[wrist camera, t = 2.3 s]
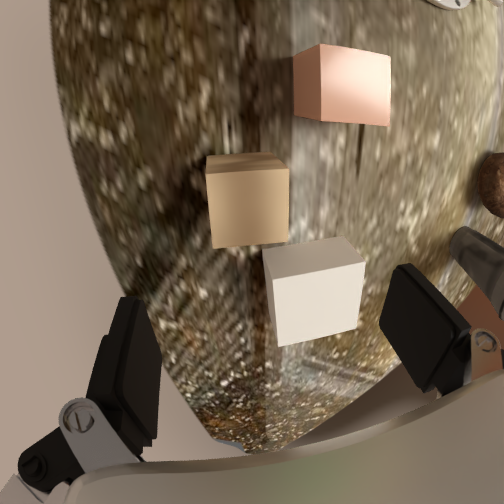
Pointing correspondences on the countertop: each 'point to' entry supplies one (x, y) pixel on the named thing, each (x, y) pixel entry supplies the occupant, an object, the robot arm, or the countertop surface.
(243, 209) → the oak block
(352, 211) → the countertop surface
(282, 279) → the white block
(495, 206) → the mushroom
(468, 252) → the beverage cup
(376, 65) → the terracotta block
